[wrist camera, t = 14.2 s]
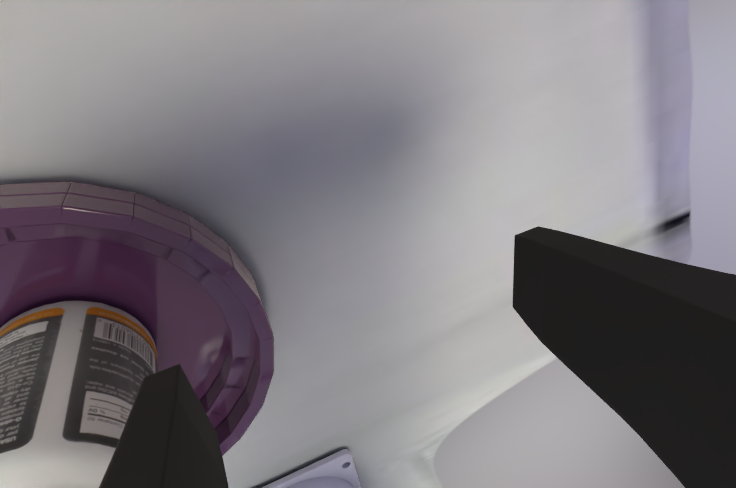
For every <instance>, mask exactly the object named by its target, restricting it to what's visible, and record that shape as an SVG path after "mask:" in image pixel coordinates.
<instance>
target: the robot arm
mask: <svg viewBox="0 0 736 488" xmlns="http://www.w3.org/2000/svg"><path fill="white" fill-rule="evenodd" d="M513 308H514V309H515V310H516V312H517V313H518V314H519V315H520V317H521V318H522V319H523V320H524V322H525V323H526V324H527V326H528V327H529V328H530V329H531V330H532V331H533V333H534V334H535V335H536V336H537V337H538V339H539V340H540V341H541V342H542V343H543V344H544V345H545V346H546V347H547V348H548V349H549V350H550V351H551V352H552V353H553V354H554V355H555V356H556V357H558V358H559V359H560V360H561V361H562V362H563V363H564V364H565V365H566V366H567V367H568V368H569V369H570V370H571V371H572V372H573V373H574V374H576V375H577V376H578V377H579V378H580V379H581V380H582V381H583V382H584V383H585V384H586V385H587V386H589V387H590V388H591V389H592V390H593V391H594V392H595V393H596V394H597V395H598V396H599V397H600V398H601V399H602V400H603V401H604V402H606V403H607V404H608V405H609V406H610V407H611V408H612V409H613V410H615V412H616V413H618V415H620V416H621V417H622V418H623V419H624V420H625V421H626V422H627V423H628V424H629V425H630V427H631V428H633V430H635V432H637V434H639V436H640V437H641V438H642V439H643V440H644V441H645V442H646V443H647V445H648V446H649V447H650V448H651V449H652V450H653V451H654V452H655V454H656V455H657V456H658V457H659V458H660V459H661V460H662V461H663V463H664V464H665V465H666V466H667V467H668V468H669V469H670V470H671V471H672V473H673V474H674V475H675V476H676V477H677V478H678V480H679V481H680V482H681V483H682V484H683V486H684V487H685V488H736V275H734V274H728V273H723V272H719V271H714V270H710V269H705V268H701V267H696V266H692V265H688V264H683V263H679V262H675V261H671V260H667V259H663V258H659V257H655V256H651V255H647V254H643V253H639V252H636V251H632V250H628V249H624V248H621V247H617V246H613V245H610V244H606V243H602V242H599V241H595V240H591V239H588V238H584V237H580V236H576V235H572V234H569V233H565V232H561V231H557V230H552V229H547V228H542V227H536V228H533V229H530V230H528V231H525V232H523V233H520V234H517V235H515V247H514V281H513ZM99 488H228V482H227V477H226V473H225V468H224V463H223V458H222V454H221V449H220V445H219V440H218V436H217V432H216V431H215V429H214V427H213V425H212V423H211V421H210V419H209V417H208V416H207V414H206V412H205V410H204V408H203V406H202V404H201V403H200V401H199V399H198V397H197V395H196V393H195V391H194V389H193V388H192V386H191V384H190V382H189V380H188V378H187V376H186V375H185V373H184V371H183V369H182V367H181V365H180V364H178V365H175V366H173V367H170V368H167V369H165V370H162V371H159V372H157V373H154V374H152V375H149V376H146V377H145V378H144V379H143V381H142V383H141V385H140V388H139V390H138V393H137V395H136V398H135V401H134V403H133V406H132V409H131V411H130V414H129V416H128V419H127V421H126V424H125V427H124V429H123V432H122V434H121V437H120V439H119V441H118V444H117V446H116V449H115V451H114V454H113V456H112V458H111V461H110V463H109V465H108V468H107V470H106V472H105V475H104V477H103V479H102V481H101V484H100V486H99ZM262 488H361V485H360V482H359V478H358V475H357V471H356V468H355V465H354V461H353V458H352V455H351V452H350V451H349V450H347V449H344V450H341V451H339V452H337V453H334V454H332V455H330V456H328V457H326V458H324V459H322V460H319V461H317V462H315V463H313V464H311V465H309V466H307V467H304V468H302V469H300V470H298V471H296V472H294V473H292V474H290V475H287V476H285V477H283V478H281V479H279V480H277V481H275V482H272V483H270V484H268V485H266V486H264V487H262Z"/></svg>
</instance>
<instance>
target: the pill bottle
mask: <svg viewBox="0 0 736 488" xmlns="http://www.w3.org/2000/svg"><path fill="white" fill-rule="evenodd" d="M157 372H158V360H157V351H156V346H155V343H154V340H153V338H152V336H151V334H150V333H149V331H148V330H147V329H146V328H145V327H144V326H143V325H142V324H141V323H140V322H139V321H138V320H137V319H136V318H135V317H133V316H131V315H130V314H128V313H127V312H125V311H123V310H120V309H118V308H115V307H112V306H109V305H106V304H103V303H97V302H89V301H62V302H57V303H53V304H47V305H43V306H40V307H37V308H34V309H31V310H29V311H26V312H24V313H22V314H20V315H18V316H17V317H15V318H13V319H11V320H10V321H8V322H7V323H6V324H5V325H3V326H2V327H1V328H0V488H99V486H100V484H101V481H102V479H103V477H104V475H105V472H106V470H107V468H108V465H109V463H110V461H111V458H112V456H113V454H114V451H115V449H116V446H117V444H118V441H119V439H120V437H121V434H122V432H123V429H124V427H125V424H126V421H127V419H128V416H129V414H130V411H131V409H132V406H133V403H134V401H135V398H136V395H137V393H138V390H139V388H140V385H141V383H142V381H143V379H144V378H145V377H146V376H149V375H152V374H154V373H157Z"/></svg>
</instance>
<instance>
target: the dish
mask: <svg viewBox="0 0 736 488" xmlns="http://www.w3.org/2000/svg"><path fill="white" fill-rule="evenodd" d="M62 301H89V302H97V303H103V304H106V305H109V306H112V307H115V308H118V309H120V310H123V311H125V312H127V313H128V314H130V315H131V316H133V317H135V318H136V319H137V320H138V321H139V322H140V323H141V324H142V325H143V326H144V327H145V328H146V329H147V330H148V331H149V333H150V334H151V336H152V338H153V340H154V343H155V346H156V351H157V360H158V372H159V371H162V370H165V369H167V368H170V367H173V366H175V365H178V364H180V365H181V367H182V369H183V371H184V373H185V375H186V376H187V378H188V380H189V382H190V384H191V386H192V388H193V389H194V391H195V393H196V395H197V397H198V399H199V401H200V403H201V404H202V406H203V408H204V410H205V412H206V414H207V416H208V417H209V419H210V421H211V423H212V425H213V427H214V429H215V431H216V432H217V436H218V440H219V445H220V449H221V454H222V456H223V455H224V454H225V453H226V452H227V451H228V450H229V449H230V448H231V447H232V446H233V445H234V444H235V443H236V442H237V441H238V440H239V439H240V438H241V437H242V436H243V434H244V433H245V431H246V430H247V428H248V427H249V425H250V424H251V422H252V421H253V419H254V418H255V416H256V415H257V413H258V412H259V410H260V409H261V407H262V406H263V403H264V400H265V397H266V394H267V391H268V388H269V385H270V382H271V379H272V376H273V373H274V372H273V371H274V337H273V332H272V330H271V327H270V324H269V321H268V318H267V315H266V312H265V310H264V307H263V304H262V301H261V298H260V296H259V293H258V290H257V287H256V284H255V282H254V279H253V276H252V274H251V273H250V271H249V270H248V269H247V267H246V266H245V265H244V264H243V262H242V261H241V260H240V258H239V257H238V256H237V254H236V253H235V252H234V251H233V249H232V248H231V247H230V245H229V244H228V243H227V242H226V241H225V240H223V239H222V238H220V237H219V236H218V235H216V234H215V233H214V232H212V231H211V230H210V229H208V228H207V227H205V226H204V225H203V224H201V223H200V222H199V221H197V220H196V219H194V218H193V217H192V216H190V215H189V214H187V213H185V212H183V211H180V210H178V209H175V208H173V207H171V206H168V205H166V204H163V203H161V202H158V201H156V200H153V199H151V198H148V197H146V196H143V195H141V194H139V193H134V192H130V191H124V190H118V189H112V188H106V187H101V186H95V185H89V184H83V183H77V182H72V183H71V182H46V183H21V184H3V185H1V186H0V328H1V327H2V326H3V325H5V324H6V323H7V322H8V321H10V320H11V319H13V318H15V317H17V316H18V315H20V314H22V313H24V312H26V311H29V310H31V309H34V308H37V307H40V306H43V305H47V304H53V303H57V302H62Z"/></svg>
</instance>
